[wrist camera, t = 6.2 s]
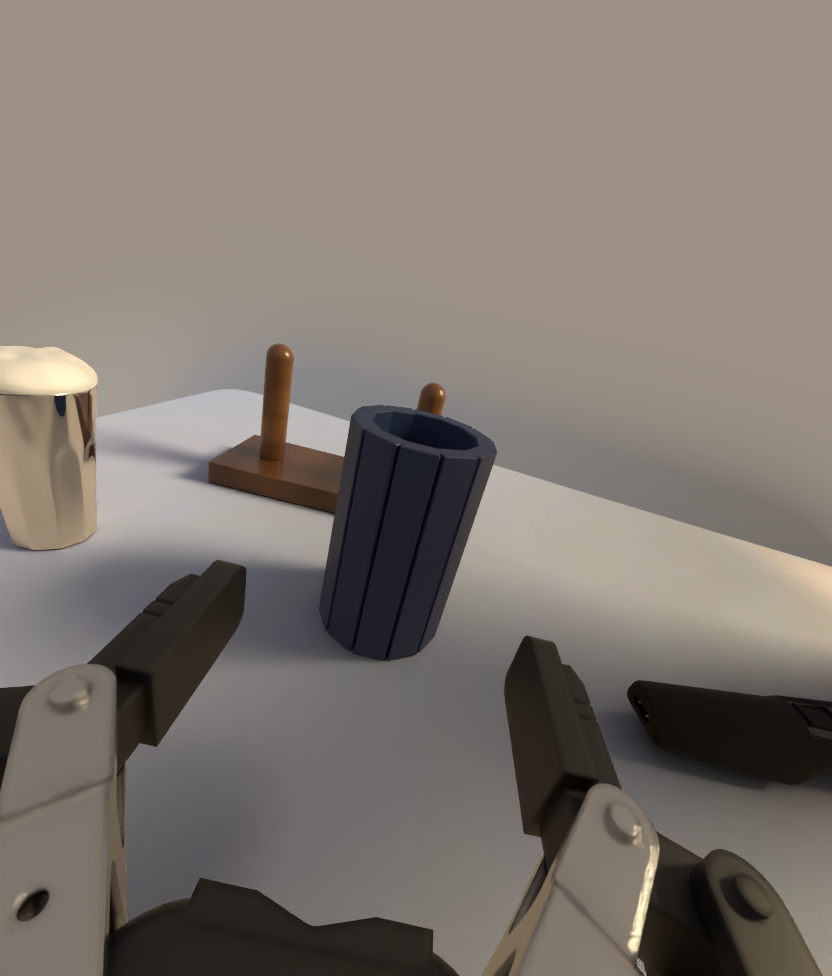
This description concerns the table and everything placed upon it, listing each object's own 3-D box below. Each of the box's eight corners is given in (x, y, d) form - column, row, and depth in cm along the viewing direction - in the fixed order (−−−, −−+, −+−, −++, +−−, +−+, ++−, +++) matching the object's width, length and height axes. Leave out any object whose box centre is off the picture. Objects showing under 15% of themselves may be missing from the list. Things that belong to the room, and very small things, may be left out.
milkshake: (44, 497, 22) (10, 308, 18) (133, 523, 22) (119, 337, 18) (-56, 538, 18) (-129, 303, 14) (53, 570, 18) (11, 342, 14)
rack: (442, 498, 34) (475, 386, 30) (440, 539, 28) (481, 404, 24) (253, 451, 34) (261, 331, 30) (208, 482, 28) (210, 335, 24)
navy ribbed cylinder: (437, 588, 23) (489, 427, 19) (433, 672, 18) (504, 472, 13) (338, 563, 23) (369, 397, 19) (303, 641, 17) (335, 429, 13)
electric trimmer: (593, 693, 19) (622, 646, 18) (869, 733, 20) (913, 693, 19) (634, 779, 15) (673, 728, 14) (960, 819, 17) (1023, 777, 16)
